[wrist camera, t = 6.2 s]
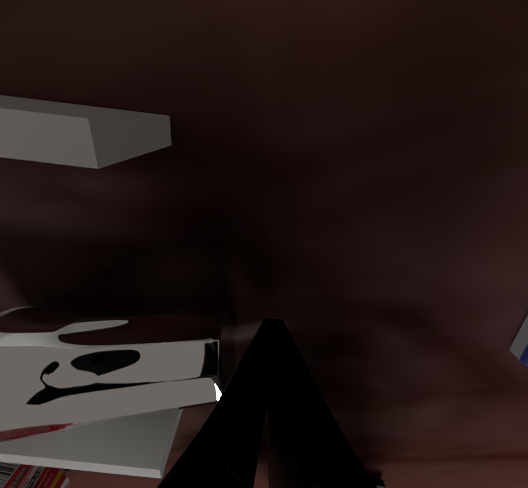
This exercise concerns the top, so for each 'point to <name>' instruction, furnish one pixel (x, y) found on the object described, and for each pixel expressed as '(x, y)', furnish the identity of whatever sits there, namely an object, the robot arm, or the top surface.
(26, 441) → the box
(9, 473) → the soda can
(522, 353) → the hard drive
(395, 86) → the top surface
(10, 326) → the milkshake
